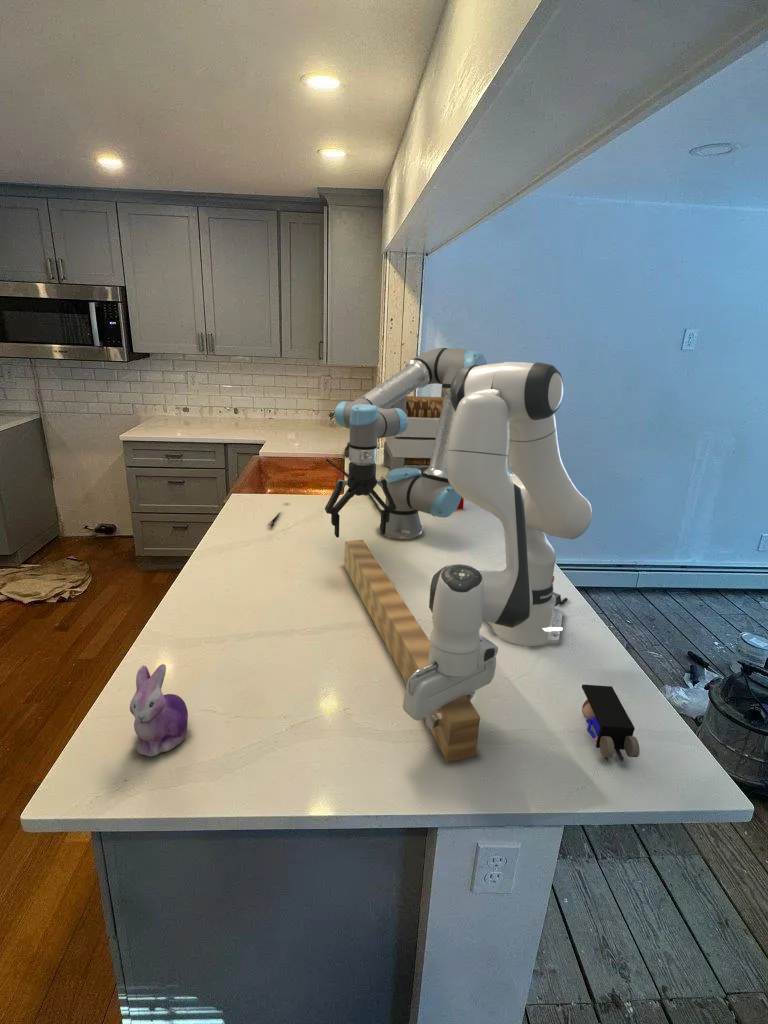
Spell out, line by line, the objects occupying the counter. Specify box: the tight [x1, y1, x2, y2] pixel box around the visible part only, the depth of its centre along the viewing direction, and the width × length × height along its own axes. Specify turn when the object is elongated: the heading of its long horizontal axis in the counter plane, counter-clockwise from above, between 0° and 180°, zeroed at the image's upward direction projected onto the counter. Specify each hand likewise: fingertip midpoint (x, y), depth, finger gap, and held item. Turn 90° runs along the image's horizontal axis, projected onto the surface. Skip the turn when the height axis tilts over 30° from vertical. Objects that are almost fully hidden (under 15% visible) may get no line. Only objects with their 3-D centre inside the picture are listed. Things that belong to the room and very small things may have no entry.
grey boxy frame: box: [383, 390, 445, 471], centre depth 268 cm, size 34×33×41 cm
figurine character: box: [581, 684, 641, 762], centre depth 105 cm, size 7×8×15 cm
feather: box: [266, 512, 281, 529], centre depth 211 cm, size 2×28×2 cm
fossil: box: [343, 441, 350, 458], centre depth 305 cm, size 22×10×15 cm
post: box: [344, 539, 481, 763], centre depth 136 cm, size 81×6×9 cm, turn 17°
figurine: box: [129, 663, 189, 757], centre depth 99 cm, size 9×10×15 cm
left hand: (360, 534), depth 162 cm, fingers open, 13 cm apart
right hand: (447, 717), depth 106 cm, fingers closed on post, 7 cm apart
